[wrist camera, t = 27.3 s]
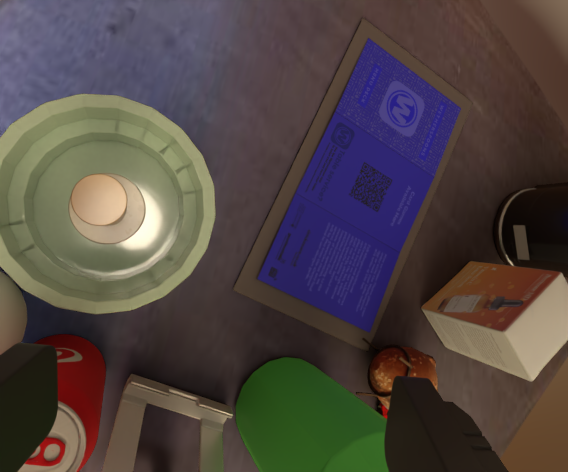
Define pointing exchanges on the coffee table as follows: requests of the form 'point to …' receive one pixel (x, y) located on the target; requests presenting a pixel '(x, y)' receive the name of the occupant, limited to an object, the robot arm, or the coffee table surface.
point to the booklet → (356, 191)
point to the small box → (502, 316)
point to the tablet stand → (148, 391)
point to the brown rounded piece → (397, 369)
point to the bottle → (307, 422)
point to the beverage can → (72, 407)
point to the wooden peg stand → (106, 208)
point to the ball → (11, 313)
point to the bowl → (93, 160)
